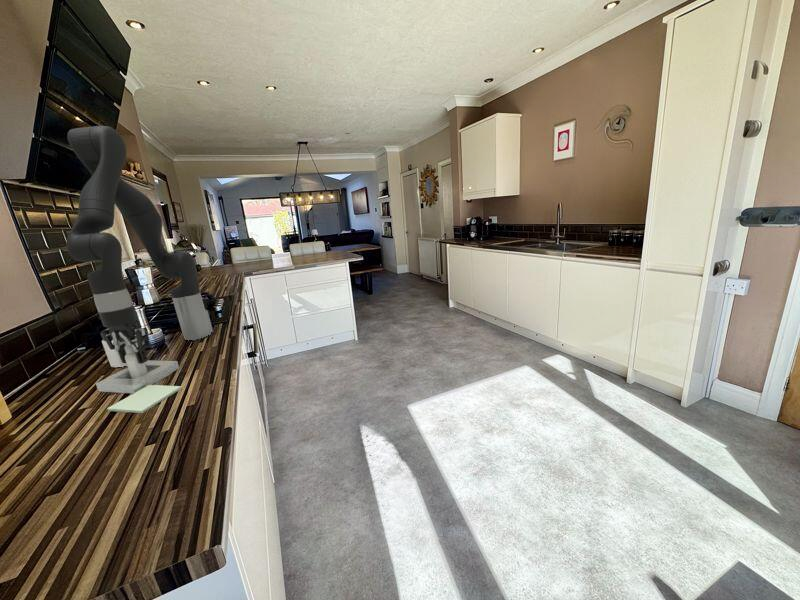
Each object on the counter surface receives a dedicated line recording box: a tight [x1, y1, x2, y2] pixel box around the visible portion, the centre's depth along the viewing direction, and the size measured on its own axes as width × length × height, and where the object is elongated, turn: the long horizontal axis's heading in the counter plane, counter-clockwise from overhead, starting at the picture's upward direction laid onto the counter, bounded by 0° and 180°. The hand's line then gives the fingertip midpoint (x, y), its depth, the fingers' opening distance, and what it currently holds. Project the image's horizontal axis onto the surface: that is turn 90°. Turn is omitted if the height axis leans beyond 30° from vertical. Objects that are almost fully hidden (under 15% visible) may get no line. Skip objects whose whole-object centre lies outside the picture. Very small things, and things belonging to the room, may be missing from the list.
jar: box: [100, 331, 138, 368], centre depth 107 cm, size 9×8×12 cm
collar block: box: [95, 359, 180, 394], centre depth 94 cm, size 14×14×2 cm
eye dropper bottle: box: [124, 344, 149, 379], centre depth 93 cm, size 4×6×12 cm
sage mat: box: [106, 384, 182, 414], centre depth 83 cm, size 11×11×1 cm
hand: (135, 361), depth 93 cm, fingers closed on eye dropper bottle, 5 cm apart
